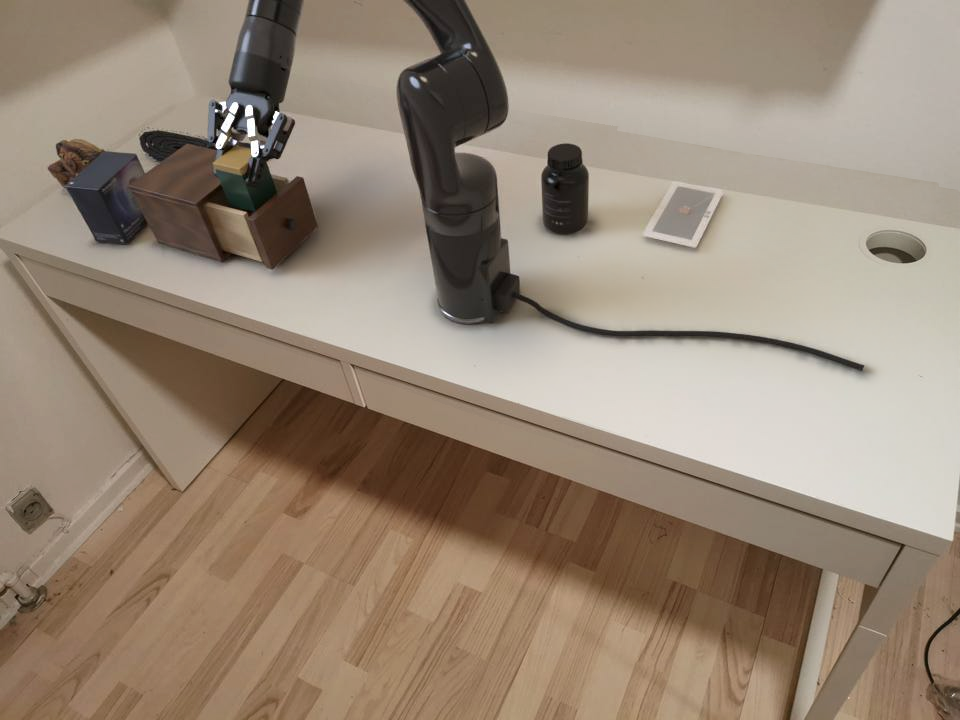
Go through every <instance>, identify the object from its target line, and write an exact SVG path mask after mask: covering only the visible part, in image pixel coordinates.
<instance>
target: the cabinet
mask: <svg viewBox="0 0 960 720" xmlns="http://www.w3.org/2000/svg"><path fill="white" fill-rule="evenodd" d="M216 155H217V150H213V149H209V148H204V147H200V146H195V145H191V144H186V145H185V146H183V147H182V148H180V149H179V150H177V151H176V152H175V153H173V154H172V155H170V156H169V157H168V158H166V159H165V160H163V161H160V162H159V163H158V164H156V165H154V166H153V167H152V168H151V169H149V170H148V171H147V172H145V174H144V175H142V176H141V177H139V178H138V179H137V180H135V181H134V182H132V183H131V184H130V185H128V186H129V188H130V190H131V192H132V194H133V196H134V198H135V200H136V202H137V204H138V206H139V208H140V209H141V211H142V213H143V215H144V217H145V219H146V221H147V225H148V227H149V229H150V231H151V232H152V234H153V237H154V239H155V241H156V242H157V243H158V244H160V245H164V246H166V247H170V248H173V249H176V250H179V251H184V252H186V253H190V254H193V255H196V256H199V257H202V258H207V259H209V260H214V261H217V262H221V263H223V262H224V261H225V260H227V259H228V258H229V257H230V256H231V255H232V254H233V253H230V252H227V251H223V250H221V248H220V246H219V243H218V241H217V239H216V237H215V234H214V232H213V230H212V228H211V225H210V223H209V221H208V218H207V216H206V214H205V212H204V209H203V207H202V205H203V204H204V203H205V202H206V201H208V200H209V199H210V198H211V197H213V196H214V195H215V194H216V193H218V192H219V191H220V190H221V189H223V188H222V185H221V183H220V180H219V178H218V177H215V176H214V169H213V168H214V166H213V162H214V161H215V159H216Z"/></svg>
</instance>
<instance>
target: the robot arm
mask: <svg viewBox="0 0 960 720" xmlns="http://www.w3.org/2000/svg"><path fill="white" fill-rule="evenodd" d="M402 2H404V3H405V4H406V5H407V6H408V7H409V8H410V10H412V11H413V12H414V13H415V15H416V16H417V17H418V18H419V19H420V20H421V22H422V23H423V25H424V26H425V28H426V30H427V31H428V32H429V34H430V36H431V38H432V40H433V42H434V43H435V46H436V47H437V49H438V51H439V53H440V54H437V55H434V56H432V57H429V58H426V59H424V60H421V61H420V62H417V63H416V62H415V63H414V64H412V65H409V66H407V67H405V68H404V69H402V70H401V72H400V73H399V75H398V78H397V81H396V101H397V102H396V103H397V108H398V113H399V117H400V122H401V125H402V129H403V134H404V139H405V142H406V146H407V151H408V156H409V161H410V165H411V170H412V173H413V176H414V178H415V182H416V184H417V187H418V191H419V195H420V200H421V207H422V213H423V219H424V225H425V232H426V237H427V243H428V249H429V256H430V262H431V268H432V272H433V279H434V285H435V290H436V296H437V299H436V300H437V307H438V309H439V312H440V313H441V314H442V315H443V316H444V317H445V318H446V319H448V320H449V321H451V322H454V323H458V324H464V325H475V324H481V323H489V324H493V323H494V322H495V321H496V319H497V318H498V316H499V315H500V313H505V314H507V313H508V312H509V311H510V309H511V308H512V306H513V305H514V304H515V302H516V300H518V301H520V302H522V303H525V304H528V305H529V306H531V307H532V308H533V309H535V310H537V312H539V313H540V314H542V315H544V316H545V317H547V318H549V319H551V320H553V321H554V322H555V321H556V322H558V323H560V324H562V325H564V326H567V327H568V328H572V329H575V330H577V331H578V330H579V331H582V332H586V333H591V334H596V335H600V336H607V337H619V338H620V337H623V338H624V337H625V338H626V337H630V338H631V337H673V338H675V337H677V338H679V337H682V338H683V337H686V338H687V337H689V338H691V337H692V338H693V337H695V338H696V337H697V338H718V339H719V338H721V339H729V340H741V341H749V342H756V343H762V344H767V345H773V346H777V347H781V348H782V347H783V348H786V349H791V350H795V351H799V352H802V353H807V354H810V355H813V356H816V357H819V358H823V359H825V360H829V361H831V362H834V363H837V364H840V365H842V366H846V367H849V368H852V369H854V370H858V371H860V372H863V370H864V368H865V365H864V364H862V363H858V362H855V361H852V360H850V359H846V358H844V357H841V356H838V355H834V354H832V353H828V352H826V351H823V350H819V349H818V348H817V349H816V348H813V347H811V346H806V345H802V344H798V343H794V342H790V341H786V340H782V339H776V338H771V337H765V336H760V335H753V334H744V333H738V332H737V333H736V332H728V331H727V332H726V331H713V330H712V331H711V330H610V329H603V328H597V327H592V326H589V325H584V324H580V323H577V322H574V321H571V320H568V319H566V318H564V317H562V316H559V315H558V314H555V313H553V312H551V311H550V310H549V309H546V308H545V307H543V306H542V305H541V304H540V303H538V302H537V301H535V300H534V299H532V298H530V297H527V296H525V295H522V294H521V281H520V275H517V274H514V273H511V261H510V247H509V240H508V239H507V238H503V237H502V228H501V227H502V226H501V214H500V201H499V185H498V175H497V171H496V169H495V166H494V165H493V164H492V162H490V161H489V160H487V159H486V158H485V157H482V156H480V155H477V154H474V153H470V152H456V148H457V147H458V146H462V145H464V144H465V143H468V142H470V141H472V140H474V139H477V138H479V137H481V136H483V135H486V134H488V133H491V132H493V131H494V130H497V129H499V128H500V127H501V126H503V124H504V123H505V122H506V121H507V118H508V115H509V109H510V103H509V94H508V89H507V86H506V83H505V79H504V75H503V74H502V71H501V69H500V66H499V64H498V61H497V59H496V58H495V55H494V53H493V51H492V49H491V47H490V45H489V44H488V43H489V42H488V41H487V39H486V37H485V35H484V34H483V32H482V30H481V27H480V26H479V24H478V22H477V20H476V19H475V16H474V15H473V13H472V11H471V9H470V7H469V5H468V3H467V1H466V0H402ZM304 3H305V0H248V2H247V6H246V11H245V15H244V19H243V22H242V25H241V26H240V27H241V28H240V30H239V33H238V36H237V41H236V46H235V50H234V53H233V54H234V55H233V59H232V63H231V68H230V72H229V78H228V86H229V87H230V93H229V96H228V97H227V98H226V101H220V102H219V101H216V100H214V99H211V100H209V102H208V116H207V138H206V139H207V140H208V142H210V143H212V144H214V145H215V146H216V148H217V155H216V159H215V161H216V160H217V159H218V158H220V157H221V156H222V155H224V154H225V153H226V152H228V151H229V150H230V149H232V148H233V147H234V146H236V145H238V144H239V142H243V141H244V140H245V138H246V136H247V137H248V140H249V141H250V144H251V153H252V156H253V157H249V163H248V168H247V172H246V176H245V184H247V185H250V186H253V187H258V186H259V184H260V183H261V181H262V178H263V173H264V169H265V165H266V162H267V163H268V162H269V161H270V160H273V159H275V160H279V159H281V157H282V155H283V152H284V151H285V148H286V145H287V144H288V141H289V139H290V136H291V134H292V131H293V130H294V128H295V126H296V120H295V119H294V118H293V117H291V116H289V115H287V114H284V113H282V112H281V110H280V104H282V103H283V102H284V100H285V97H286V93H287V88H288V84H289V80H290V76H291V71H292V67H293V62H294V58H295V52H296V43H297V42H296V41H297V36H298V33H299V32H298V31H299V28H300V23H301V20H302V15H303V12H304V11H303V10H304ZM228 141H229V143H228ZM213 169H214V176H215V177H218V176H217V173H216V171H215V168H213Z"/></svg>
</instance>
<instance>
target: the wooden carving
mask: <svg viewBox="0 0 960 720" xmlns="http://www.w3.org/2000/svg"><path fill="white" fill-rule="evenodd" d="M55 150H56V154H57V156H58V158H60V159H57V161H55V162H53V163H51V164H49V165H48V166H47V170H48V172H49V173H50V174H51V176H52V177H53V178H54V179H56V180H57V182H58V183H59V184H60V186H61V187H62V188H64V189H66V188H65V185H66V184H67V183H69V182H70V181H71V180H72V179H73V178H74V177H75V176H76V175H78V174H79V173H80V172H81V171H82V170H83V169H85V168H86V167H87V166H88V165H89V164H90V163H91V162H92V161H93V160H95V159H96V158H97V157H98V156H99V155H100V154H101V153H102V152H104V151H105V150H104V149H103V148H100V147H98V146H97V145H95V144H93V143H91V142H90V141H87V140H85V139H83V138H82V139H81V138H74V139H71V140H69V141H68V140H67V139H62V140H60V141H59V142H57V143H56V144H55Z"/></svg>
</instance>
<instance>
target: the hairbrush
mask: <svg viewBox="0 0 960 720" xmlns="http://www.w3.org/2000/svg"><path fill="white" fill-rule="evenodd" d="M151 129H152V130H150V127H147V130H149V131H146V129H145V128H143V130H141V131H140V132H141V133H142V134H141V133H138V137H139V138H138V139H139V145H140V147H141V149H142V151H143V152H144V153H145V154H147V155H148V156H150V157H151V158H152V159H153V160H155V161H159V162H162V161H163V160H165V159H166V158H168V157H169V156H170V155H172V154H173V153H175V152H176V151H177V150H179V149H180V148H182V147H183V146H185V145H186V144H191V145H195V146H200V147H204V148H209V149H213V150H217V148H216V146H215V145H214V144H212V143H210V142H208V139H207V138H206V137H204V136H201V135H199V136H198V135H197V134H196V137H195V136H192V135H189V133H188V132H186V134H185V132H182V131H179V133H178V132H173V130H172V129H171V131H168V129H166V130H163V128H162V129H160V130H159V129H156V130H155V129H154V127H152V128H151ZM182 133H183V134H182ZM229 141H230V140H228V143H229ZM237 146H242V147H246V148H251V142H250V143H249V142H243V141H240V142H239V144H238V145H237Z"/></svg>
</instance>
